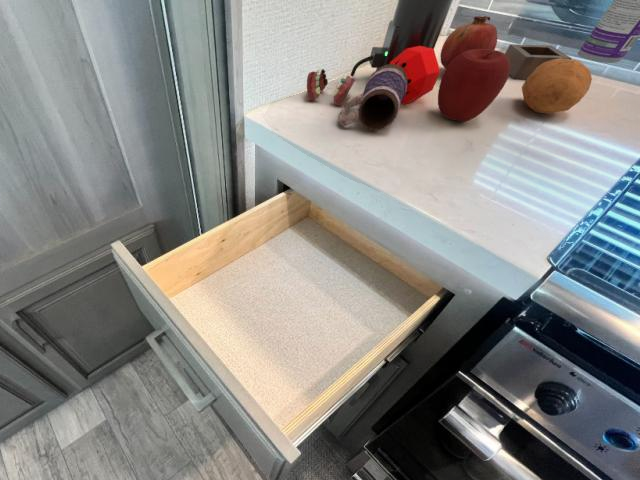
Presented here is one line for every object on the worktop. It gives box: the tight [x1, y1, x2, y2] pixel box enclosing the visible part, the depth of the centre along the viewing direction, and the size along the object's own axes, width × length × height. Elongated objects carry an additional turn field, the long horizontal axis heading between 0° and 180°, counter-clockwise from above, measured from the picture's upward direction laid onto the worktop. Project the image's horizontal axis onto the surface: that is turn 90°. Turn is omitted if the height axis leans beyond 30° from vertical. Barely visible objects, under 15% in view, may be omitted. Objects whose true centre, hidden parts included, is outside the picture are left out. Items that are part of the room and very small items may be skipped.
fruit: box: [440, 15, 498, 69], centre depth 68 cm, size 11×10×10 cm
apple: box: [437, 49, 510, 122], centre depth 54 cm, size 10×10×10 cm
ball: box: [390, 46, 441, 105], centre depth 60 cm, size 8×8×8 cm
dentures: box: [306, 68, 356, 106], centre depth 62 cm, size 6×5×9 cm
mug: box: [337, 64, 408, 132], centre depth 56 cm, size 10×7×12 cm
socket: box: [504, 43, 573, 80], centre depth 71 cm, size 9×9×4 cm
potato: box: [521, 58, 593, 115], centre depth 57 cm, size 9×11×8 cm
